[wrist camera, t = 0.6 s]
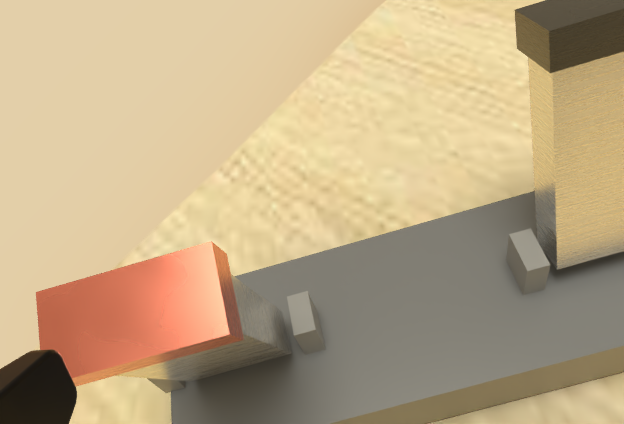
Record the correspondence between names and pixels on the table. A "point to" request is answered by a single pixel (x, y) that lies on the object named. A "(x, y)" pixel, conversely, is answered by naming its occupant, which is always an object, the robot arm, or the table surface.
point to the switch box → (422, 327)
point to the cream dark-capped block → (576, 125)
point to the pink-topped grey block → (161, 320)
